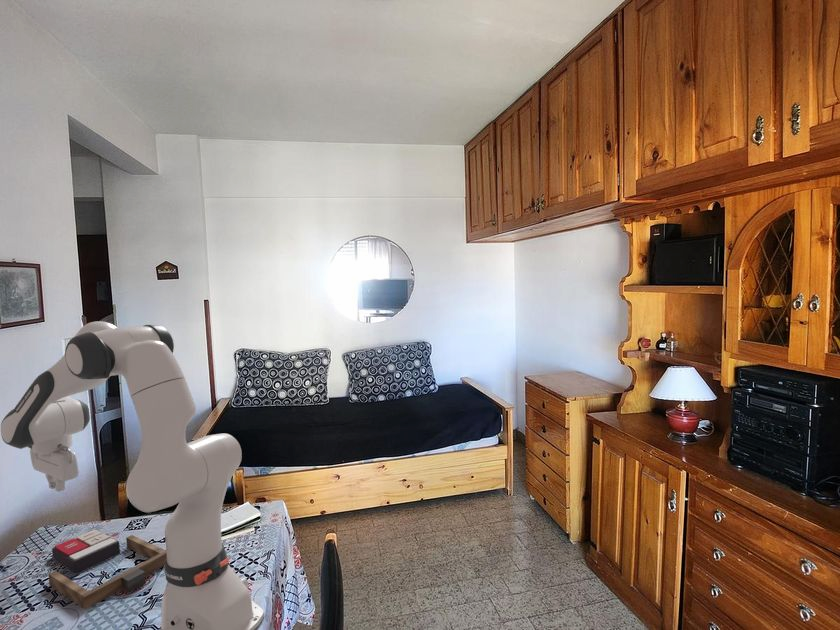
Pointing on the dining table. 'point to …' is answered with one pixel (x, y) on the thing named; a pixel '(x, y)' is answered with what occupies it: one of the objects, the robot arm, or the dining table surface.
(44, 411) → the robot arm
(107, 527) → the dining table surface
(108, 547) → the red and white box
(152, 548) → the cradle
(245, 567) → the dining table surface
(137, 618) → the dining table surface
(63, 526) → the dining table surface
